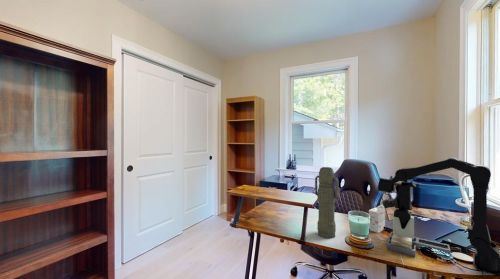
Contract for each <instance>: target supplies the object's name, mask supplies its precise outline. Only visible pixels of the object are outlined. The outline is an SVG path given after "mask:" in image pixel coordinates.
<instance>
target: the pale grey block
mask: <svg viewBox="0 0 500 279" xmlns="http://www.w3.org/2000/svg"><path fill="white" fill-rule="evenodd" d="M392 232H393V234H395V235H399V236H404V237H408V238H412V239H413V240H414V237H415V216H413V215H411V219H410V220H409V222H408V224H407V225H406V227H405V229H402V228H401V224H400V220H399V218H398V217H394V212H393V213H392Z"/></svg>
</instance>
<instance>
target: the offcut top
mask: <svg viewBox="0 0 500 279" xmlns="http://www.w3.org/2000/svg"><path fill="white" fill-rule="evenodd" d="M392 241H393V242H397V243H401V244H406V245H410V246H412V238H408V237H404V236H399V235H395V234H393V236H392Z"/></svg>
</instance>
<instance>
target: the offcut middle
mask: <svg viewBox="0 0 500 279" xmlns="http://www.w3.org/2000/svg"><path fill="white" fill-rule="evenodd" d="M391 244H394V245H398V246H401V247H405V248H409V249H411V246H410V245H406V244H401V243H397V242H393V241H392V239H391Z"/></svg>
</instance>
